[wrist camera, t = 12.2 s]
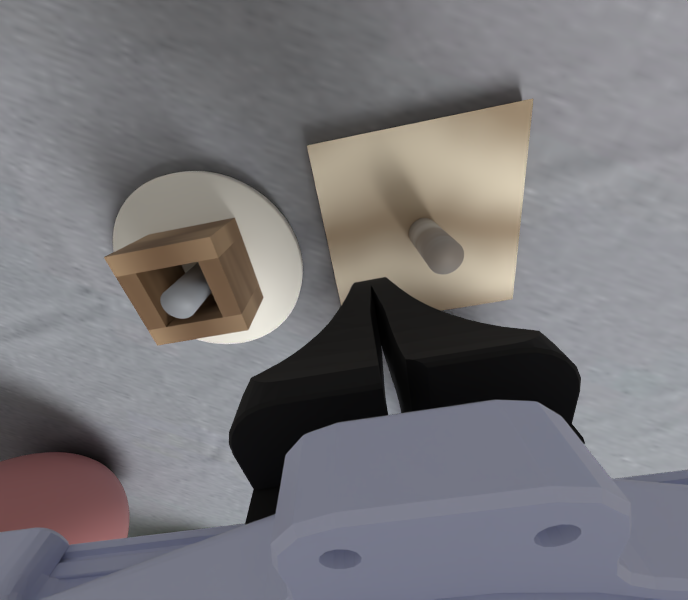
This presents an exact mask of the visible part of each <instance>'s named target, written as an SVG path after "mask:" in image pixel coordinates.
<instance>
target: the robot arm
mask: <svg viewBox="0 0 688 600" xmlns="http://www.w3.org/2000/svg"><path fill="white" fill-rule="evenodd" d="M381 346H382V348H381ZM382 349H383V352H384V355H385V358H386V361H387V364H388V367H389V371H390V374H391V377H392V380H393V383H394V386H395V389H396V392H397V396H398V400H399V404H400V408H401V413H400V414H393V415H388V411H387V405H386V398H385V388H384V374H383V361H382ZM580 383H581V377H580V374H579V372H578V369H577V366H576V365H575V364H574V363H573V362H572V361H571V360H570V359H569V358H568V357H567V356H566V355H565V354H564V353H563V352H562V351H561V350H560V349H559V348H558V347H557V346H556V345H555V344H554V343H553V342H551V341H550V340H549V339H548V338H547V337H546V336H545V335H543V334H542V333H541V332H540V331H535V330H526V329H518V328H509V327H501V326H495V325H490V324H485V323H480V322H475V321H471V320H467V319H464V318H461V317H457V316H454V315H451V314H448V313H445V312H443V311H440V310H438V309H435V308H433V307H431V306H429V305H427V304H424V303H423V302H421V301H419V300H417V299H415V298H414V297H412V296H411V295H409V294H408V293H406V292H405V291H403V290H402V289H400V288H399V287H398V286H397V285H395V284H394V283H393V282H392V281H390V280H389V279H388V278H387V277H382V278H377V279H371V280H366V281H360V282H355V283H353V285H352V286H351V288H350V291H349V293H348V295H347V297H346V299H345V300H344V302H343V304H342V305H341V307H340V309H339V310H338V311H337V313H336V314H335V316H334V317H333V319H332V320H331V321H330V322H329V324H328V325H327V326H326V327H325V328H324V329H323V330H322V331H321V332H320V333H319V334H318V335H317V336H316V337H314V338H313V339H312V340H311V341H310V342H309V343H307V344H306V345H305V346H304V347H302V348H301V349H300V350H298V351H297V352H296V353H294V354H293V355H291V356H290V357H288V358H287V359H285V360H283V361H282V362H280V363H278V364H277V365H275V366H273V367H271V368H269V369H267V370H265V371H264V372H262V373H260V374H258V375H256V376H254V377H252V378H251V379H250V382H249V384H248V386H247V388H246V390H245V392H244V394H243V397H242V399H241V402H240V404H239V407H238V410H237V413H236V415H235V418H234V421H233V423H232V426H231V429H230V431H229V445H230V448H231V450H232V453H233V455H234V457H235V459H236V460H237V462H238V464H239V465H240V467H241V469H242V470H243V472H244V474H245V475H246V477H247V479H248V480H249V482H250V484H251V485H252V487H253V489H254V490H253V494H252V498H251V502H250V506H249V511H248V515H247V519H246V523H245V524H236V525H228V526H220V527H212V528H203V529H195V530H187V531H179V532H170V533H162V534H154V535H146V536H137V537H129V538H121V539H113V540H104V541H96V542H88V543H80V544H71V545H69V543H68V541H67V540H66V539H65V538H64V537H63V536H62V535H61V534H59V533H58V532H56V531H54V530H51V529H47V528H29V529H21V530H13V531H5V532H0V600H688V470H682V471H674V472H665V473H657V474H649V475H641V476H632V477H624V478H616V479H613V478H611V477H610V476H609V475H608V474H607V472H606V471H605V470H604V469H603V467H602V466H601V465H600V464H599V462H598V461H597V460H596V459H595V457H594V456H593V455H592V454H591V452H590V451H589V450H588V449H587V447H586V446H585V445H584V444H585V442H584V439H583V437H582V436H581V435H580V433H579V432H578V431H577V430H576V428H575V427H574V426H573V425H572V421H573V417H574V413H575V409H576V405H577V401H578V397H579V393H580Z"/></svg>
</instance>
